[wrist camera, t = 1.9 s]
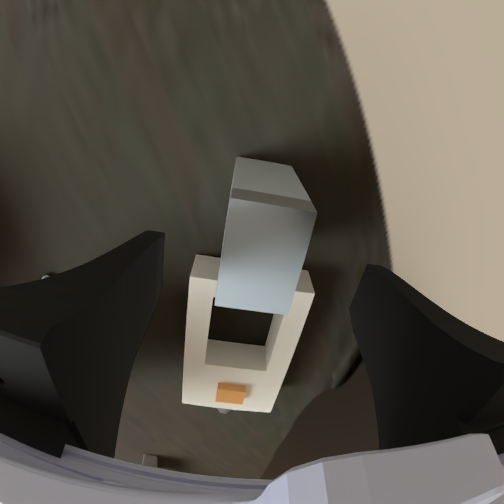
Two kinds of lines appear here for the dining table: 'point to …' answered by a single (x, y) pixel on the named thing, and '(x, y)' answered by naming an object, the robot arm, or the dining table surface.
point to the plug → (264, 237)
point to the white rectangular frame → (237, 349)
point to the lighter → (149, 460)
